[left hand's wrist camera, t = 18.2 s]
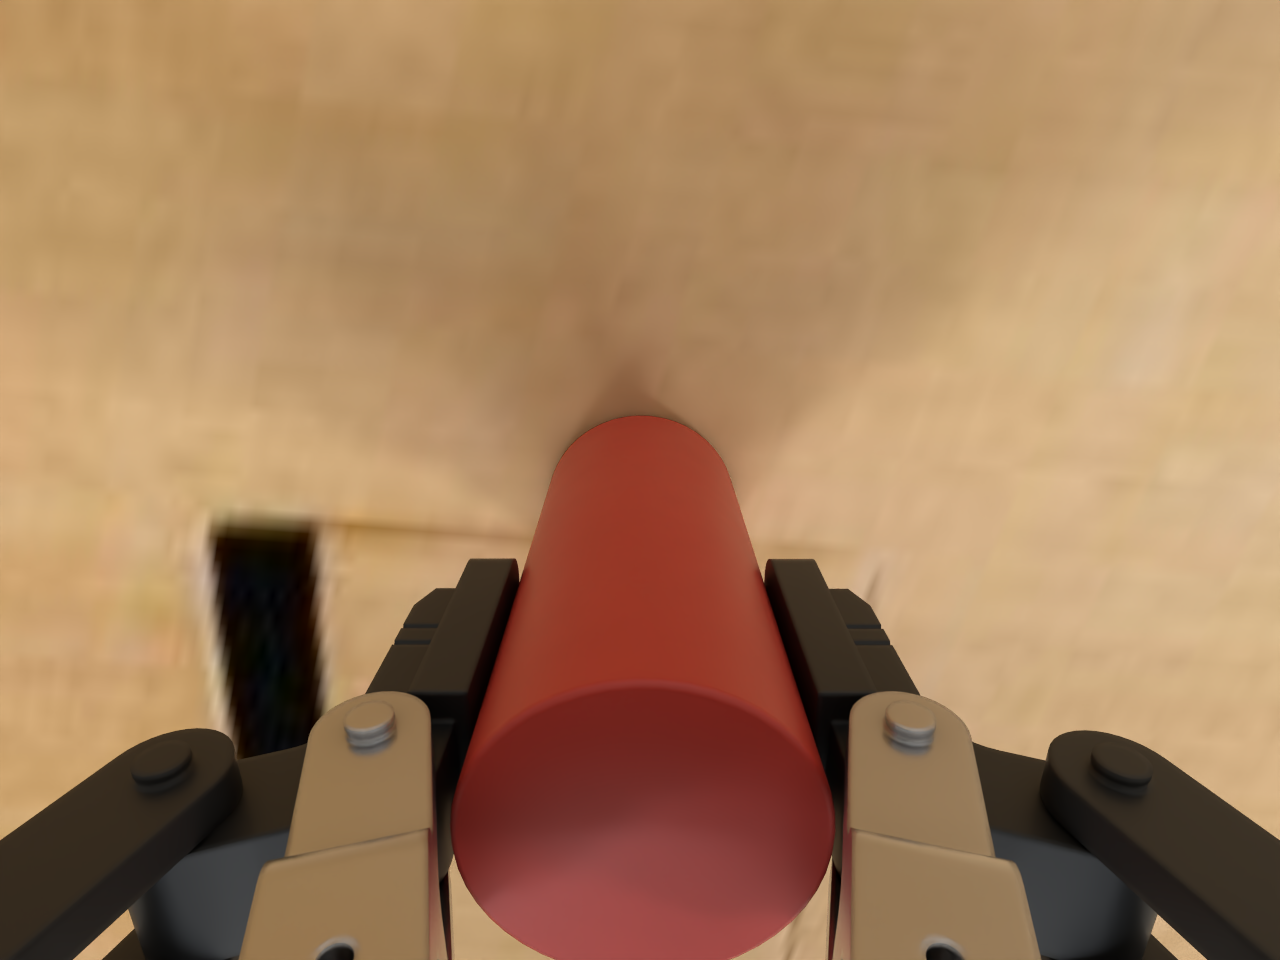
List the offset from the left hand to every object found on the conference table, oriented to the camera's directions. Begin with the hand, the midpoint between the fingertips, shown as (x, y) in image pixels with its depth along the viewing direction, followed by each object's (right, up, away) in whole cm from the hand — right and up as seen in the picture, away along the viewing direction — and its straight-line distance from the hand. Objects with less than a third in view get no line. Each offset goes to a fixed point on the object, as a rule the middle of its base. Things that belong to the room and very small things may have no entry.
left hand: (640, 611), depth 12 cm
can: (0, +2, +4) cm, 4 cm away
